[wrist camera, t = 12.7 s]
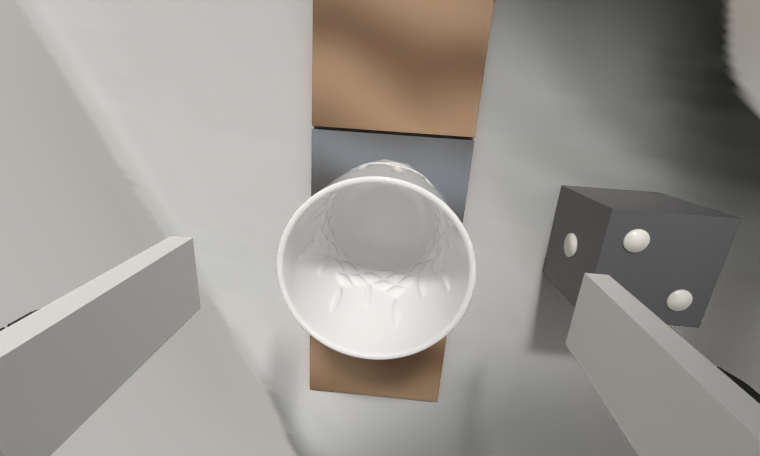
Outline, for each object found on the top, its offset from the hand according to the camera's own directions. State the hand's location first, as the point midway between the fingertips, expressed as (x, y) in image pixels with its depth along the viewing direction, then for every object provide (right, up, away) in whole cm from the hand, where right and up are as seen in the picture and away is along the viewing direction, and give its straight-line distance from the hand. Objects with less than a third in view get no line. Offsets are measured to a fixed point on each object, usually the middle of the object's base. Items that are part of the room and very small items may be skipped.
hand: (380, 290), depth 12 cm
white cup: (0, +3, +12) cm, 12 cm away
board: (0, +3, +12) cm, 12 cm away
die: (+14, +2, +12) cm, 19 cm away
